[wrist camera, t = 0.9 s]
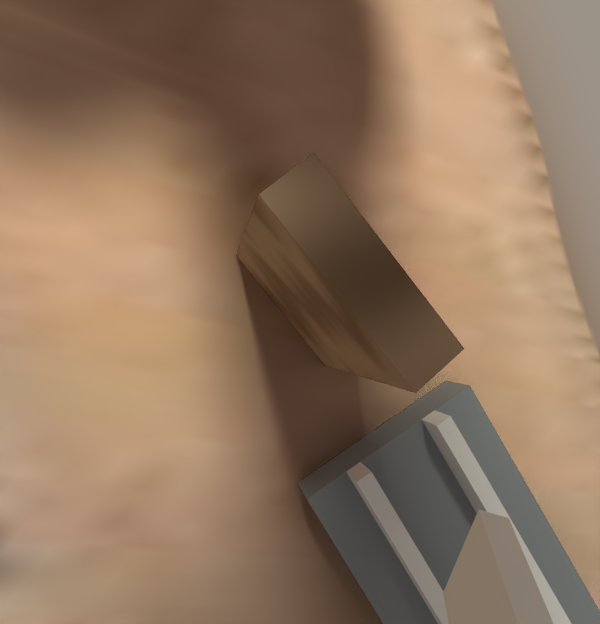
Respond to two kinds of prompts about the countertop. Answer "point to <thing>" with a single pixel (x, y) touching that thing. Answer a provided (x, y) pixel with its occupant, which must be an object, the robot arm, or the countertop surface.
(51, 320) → the countertop surface
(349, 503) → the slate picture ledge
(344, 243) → the walnut photo frame
